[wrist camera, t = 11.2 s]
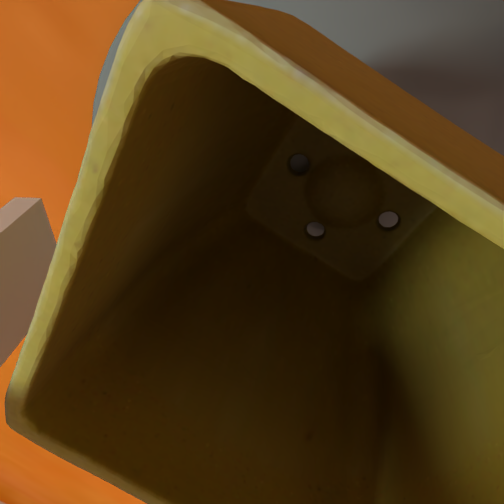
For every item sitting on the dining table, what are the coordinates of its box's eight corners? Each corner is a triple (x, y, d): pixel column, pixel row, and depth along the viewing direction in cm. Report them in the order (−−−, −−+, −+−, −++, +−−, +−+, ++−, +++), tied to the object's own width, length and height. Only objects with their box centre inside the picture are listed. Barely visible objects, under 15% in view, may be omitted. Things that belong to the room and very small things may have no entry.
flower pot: (590, 152, 12) (889, 455, 5) (380, 343, 17) (367, 636, 10) (304, -40, 12) (139, -36, 4) (173, 216, 16) (-8, 424, 9)
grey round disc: (139, 326, 20) (135, 332, 20) (43, -65, 13) (35, -65, 12) (485, 354, 18) (487, 362, 18) (629, -104, 10) (638, -106, 10)
